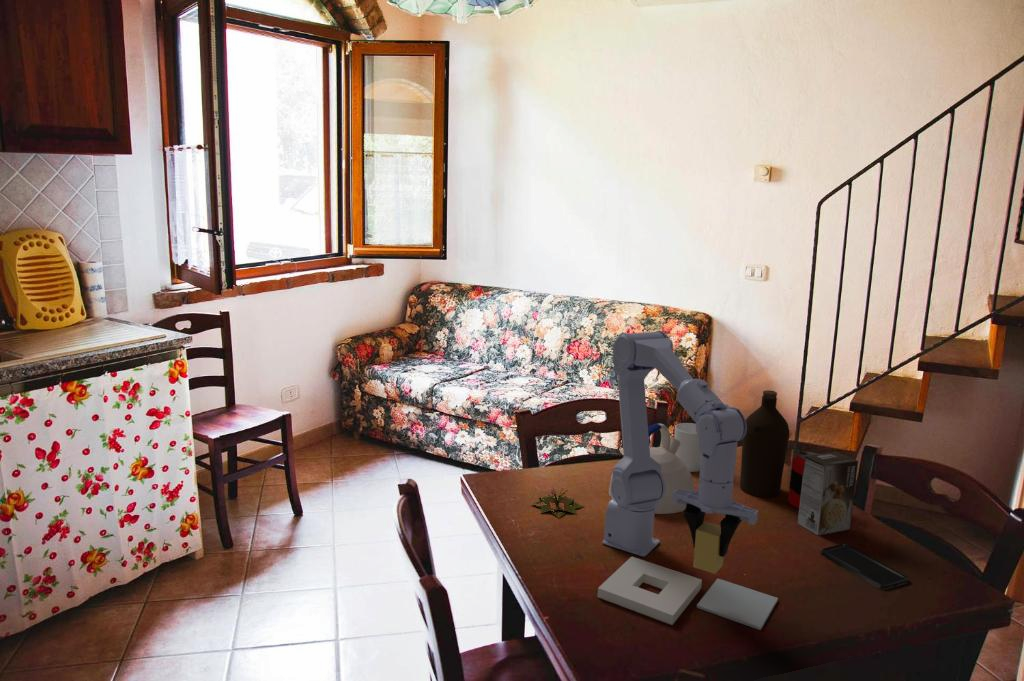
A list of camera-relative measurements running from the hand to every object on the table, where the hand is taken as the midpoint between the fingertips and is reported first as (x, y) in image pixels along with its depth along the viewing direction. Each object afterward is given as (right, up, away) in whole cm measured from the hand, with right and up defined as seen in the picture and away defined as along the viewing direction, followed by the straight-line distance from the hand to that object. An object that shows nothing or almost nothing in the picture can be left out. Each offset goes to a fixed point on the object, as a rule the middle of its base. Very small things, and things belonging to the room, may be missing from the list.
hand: (709, 550), depth 125 cm
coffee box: (+34, -4, +32) cm, 47 cm away
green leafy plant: (-24, -2, +38) cm, 46 cm away
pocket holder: (-10, -9, +4) cm, 14 cm away
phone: (+34, -8, +15) cm, 38 cm away
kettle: (-1, -1, +46) cm, 46 cm away
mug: (+13, +3, +63) cm, 65 cm away
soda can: (+34, -2, +43) cm, 55 cm away
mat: (+5, -10, +1) cm, 11 cm away
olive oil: (+26, 0, +51) cm, 58 cm away
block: (0, -3, 0) cm, 3 cm away
